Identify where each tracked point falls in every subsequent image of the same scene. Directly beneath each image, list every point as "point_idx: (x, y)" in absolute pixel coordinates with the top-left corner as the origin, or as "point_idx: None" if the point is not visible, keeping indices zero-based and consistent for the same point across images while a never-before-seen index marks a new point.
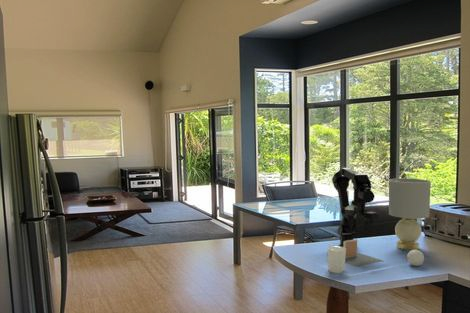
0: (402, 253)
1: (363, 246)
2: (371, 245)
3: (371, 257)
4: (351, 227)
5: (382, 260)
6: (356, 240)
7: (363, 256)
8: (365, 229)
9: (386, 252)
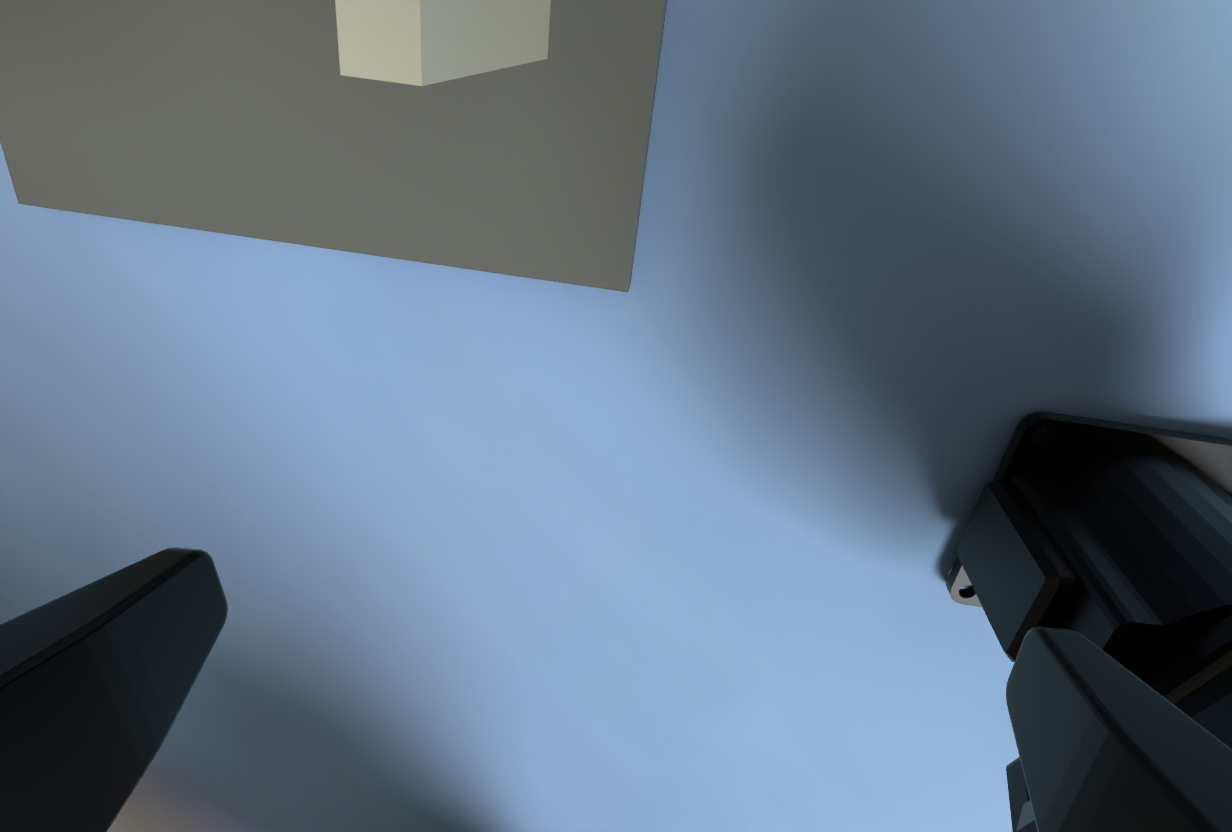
0: (331, 723)
1: (868, 691)
2: (813, 782)
3: (281, 206)
4: (1031, 695)
5: (49, 197)
6: (350, 25)
7: (400, 135)
8: (71, 610)
9: (460, 648)
